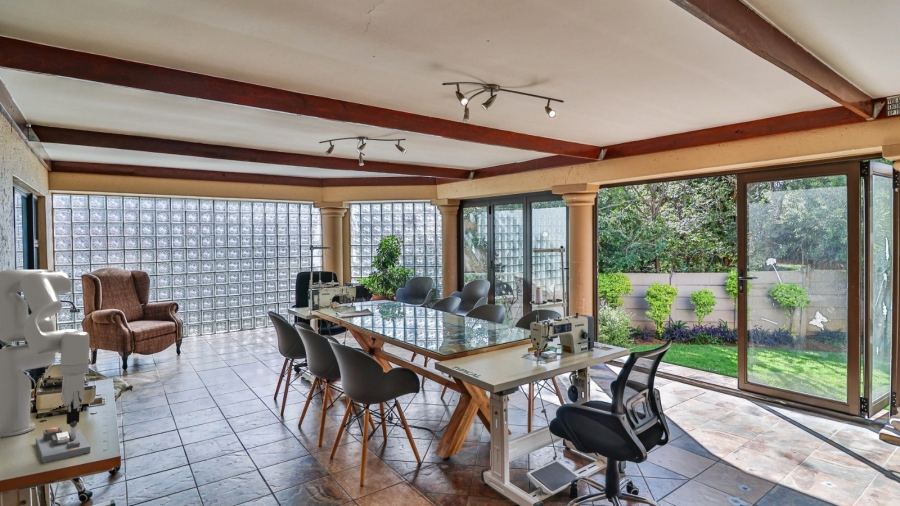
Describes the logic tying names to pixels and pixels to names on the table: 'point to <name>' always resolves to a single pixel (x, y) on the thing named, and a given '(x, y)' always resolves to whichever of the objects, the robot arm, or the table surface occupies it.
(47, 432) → the push button
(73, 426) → the toggle lever
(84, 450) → the switch panel
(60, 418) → the table surface
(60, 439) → the rocker
